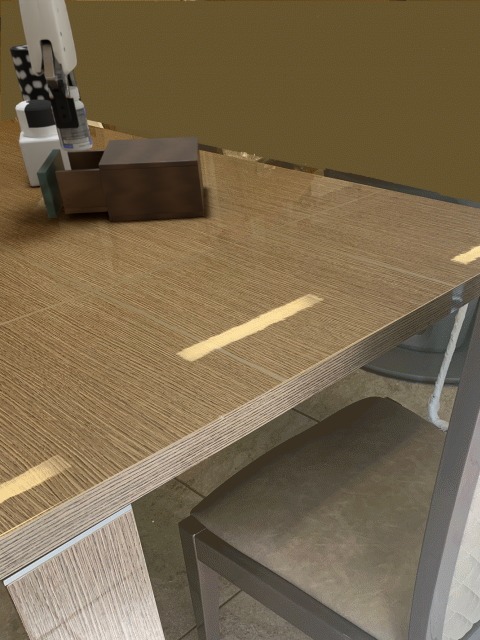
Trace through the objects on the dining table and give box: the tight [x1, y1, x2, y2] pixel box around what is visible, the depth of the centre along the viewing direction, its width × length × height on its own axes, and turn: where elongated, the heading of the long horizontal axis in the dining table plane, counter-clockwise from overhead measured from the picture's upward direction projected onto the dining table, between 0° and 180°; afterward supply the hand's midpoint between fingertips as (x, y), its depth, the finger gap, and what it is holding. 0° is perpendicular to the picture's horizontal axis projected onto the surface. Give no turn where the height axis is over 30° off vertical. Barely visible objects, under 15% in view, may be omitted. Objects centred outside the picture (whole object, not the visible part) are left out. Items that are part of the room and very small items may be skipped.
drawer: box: [37, 148, 108, 219], centre depth 103 cm, size 15×13×7 cm
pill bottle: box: [51, 86, 93, 152], centre depth 97 cm, size 5×5×8 cm
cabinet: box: [98, 136, 205, 223], centre depth 104 cm, size 15×15×9 cm
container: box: [14, 100, 71, 187], centre depth 114 cm, size 8×8×13 cm
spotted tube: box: [9, 44, 51, 102], centre depth 120 cm, size 8×8×20 cm
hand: (71, 122), depth 98 cm, fingers closed on pill bottle, 4 cm apart
